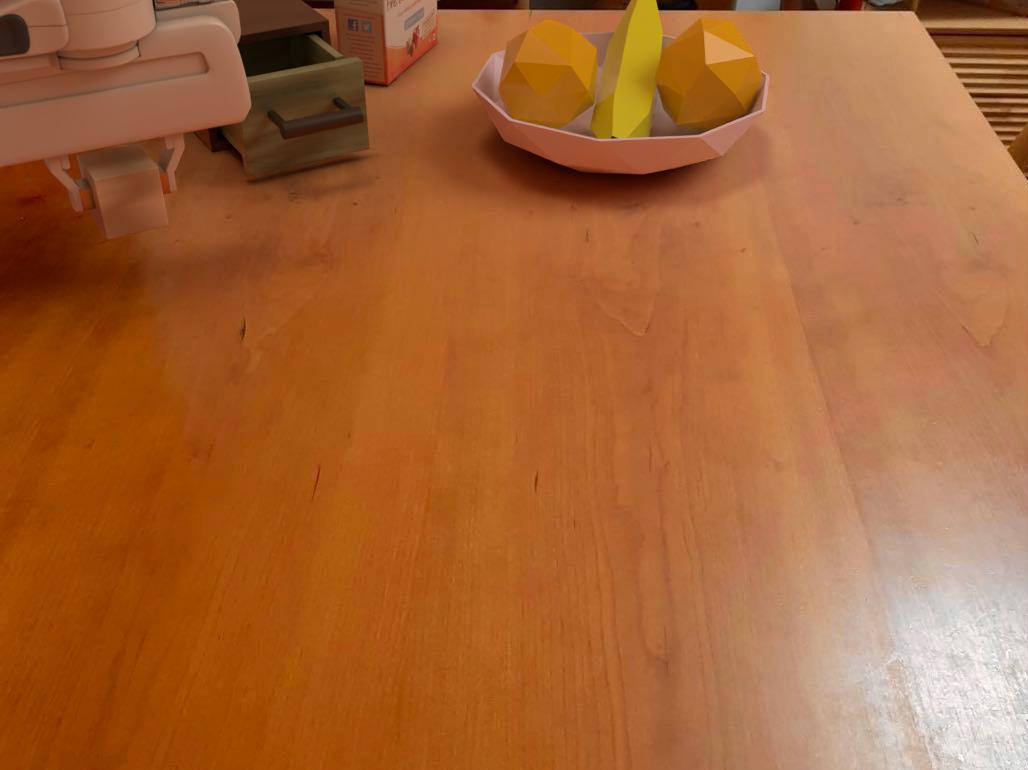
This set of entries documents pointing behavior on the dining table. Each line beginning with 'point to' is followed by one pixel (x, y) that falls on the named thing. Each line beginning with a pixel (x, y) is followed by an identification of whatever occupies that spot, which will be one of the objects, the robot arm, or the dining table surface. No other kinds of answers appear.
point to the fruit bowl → (624, 93)
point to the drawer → (299, 104)
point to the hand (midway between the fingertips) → (124, 199)
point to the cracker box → (385, 34)
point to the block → (124, 190)
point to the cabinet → (270, 37)
